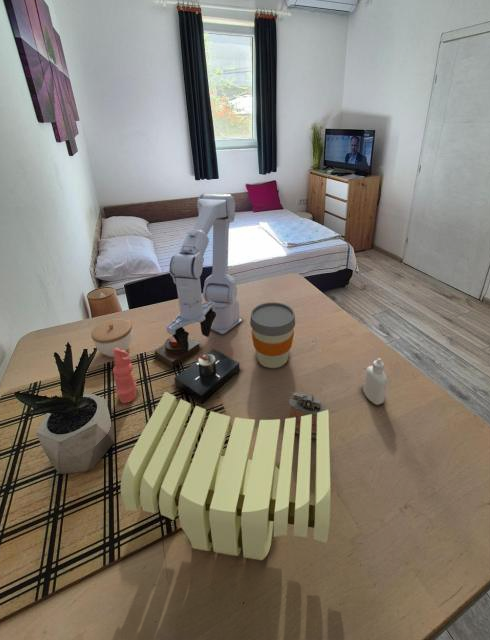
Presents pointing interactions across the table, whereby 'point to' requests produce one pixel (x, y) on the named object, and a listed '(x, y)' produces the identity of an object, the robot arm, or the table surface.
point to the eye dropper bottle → (375, 382)
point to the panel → (207, 378)
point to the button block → (175, 352)
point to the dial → (207, 364)
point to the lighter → (305, 410)
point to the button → (173, 342)
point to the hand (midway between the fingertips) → (195, 342)
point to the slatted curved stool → (228, 478)
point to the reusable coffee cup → (272, 333)
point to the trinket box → (112, 336)
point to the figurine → (123, 376)
